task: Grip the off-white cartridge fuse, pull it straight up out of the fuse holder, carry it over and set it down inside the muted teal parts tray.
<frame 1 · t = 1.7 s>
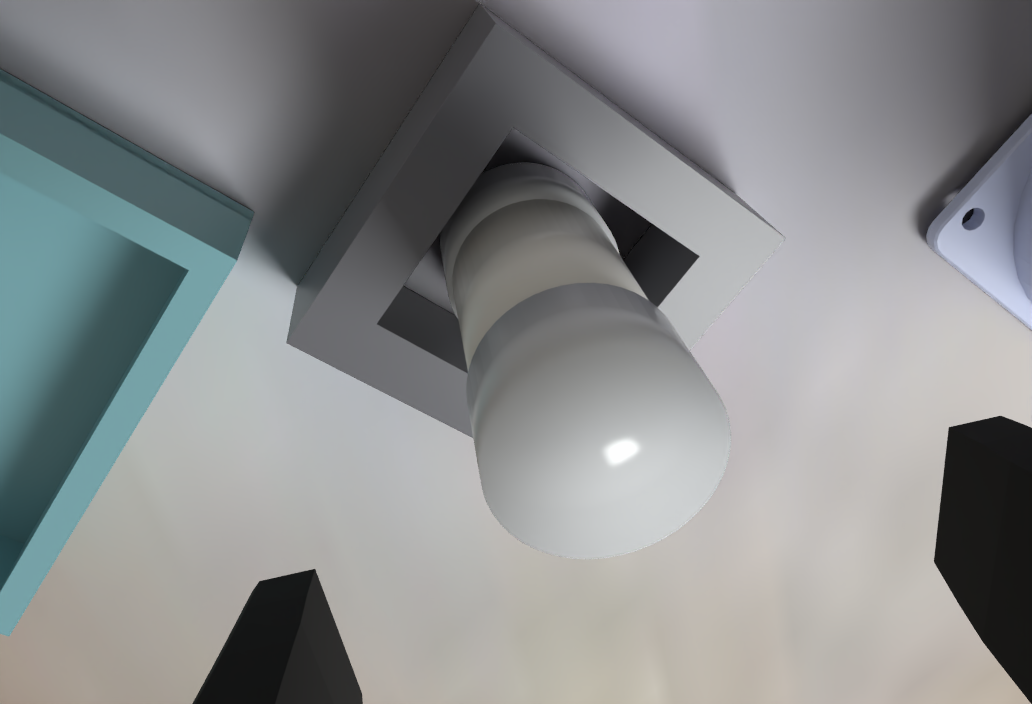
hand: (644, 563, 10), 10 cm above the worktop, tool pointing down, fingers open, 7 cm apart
fuse holder: (520, 241, 18), on the worktop
fuse: (553, 325, 15), in the fuse holder
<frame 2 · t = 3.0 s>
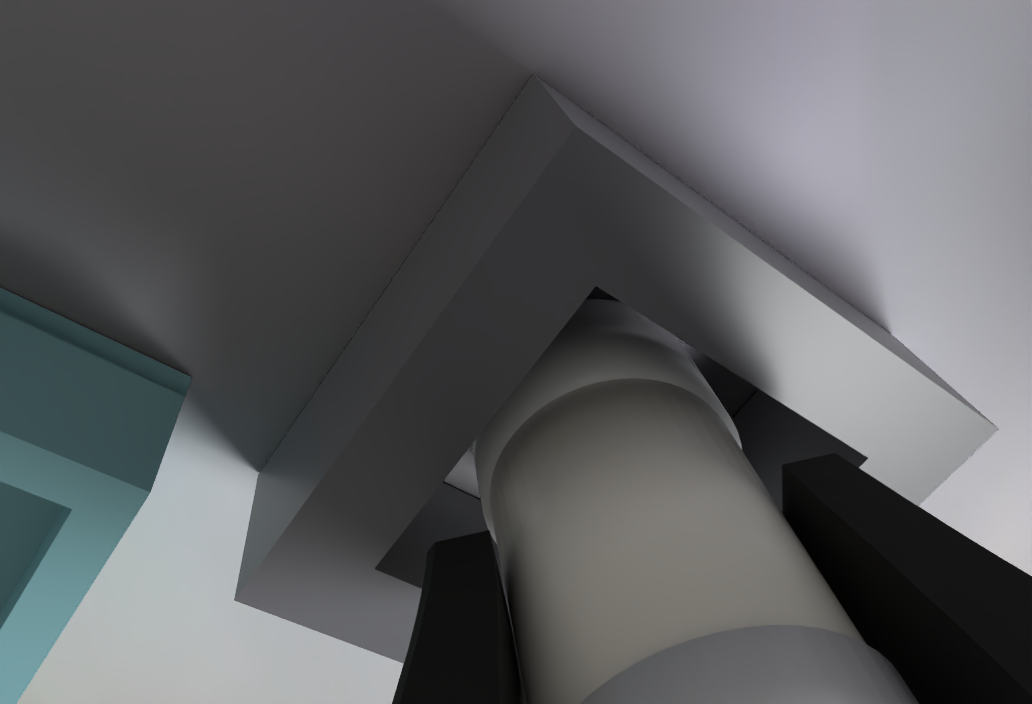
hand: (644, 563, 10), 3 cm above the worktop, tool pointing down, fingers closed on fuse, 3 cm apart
fuse holder: (581, 404, 13), on the worktop
fuse: (659, 600, 9), in the fuse holder, touching gripper
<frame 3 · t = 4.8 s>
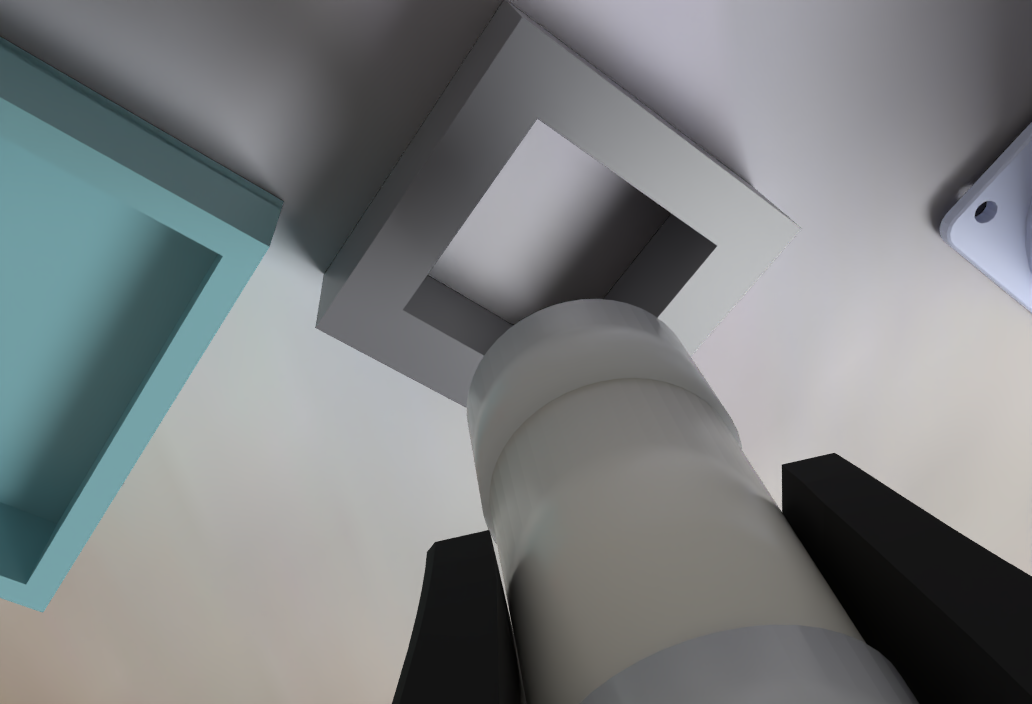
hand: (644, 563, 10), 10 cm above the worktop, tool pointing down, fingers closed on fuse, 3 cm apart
fuse holder: (541, 231, 19), on the worktop
fuse: (659, 600, 9), point 11 cm above the worktop, touching gripper
when the fingers open (5 cm above the worktop, at t = 6.9 s): fuse drops 1 cm, resting on parts tray.
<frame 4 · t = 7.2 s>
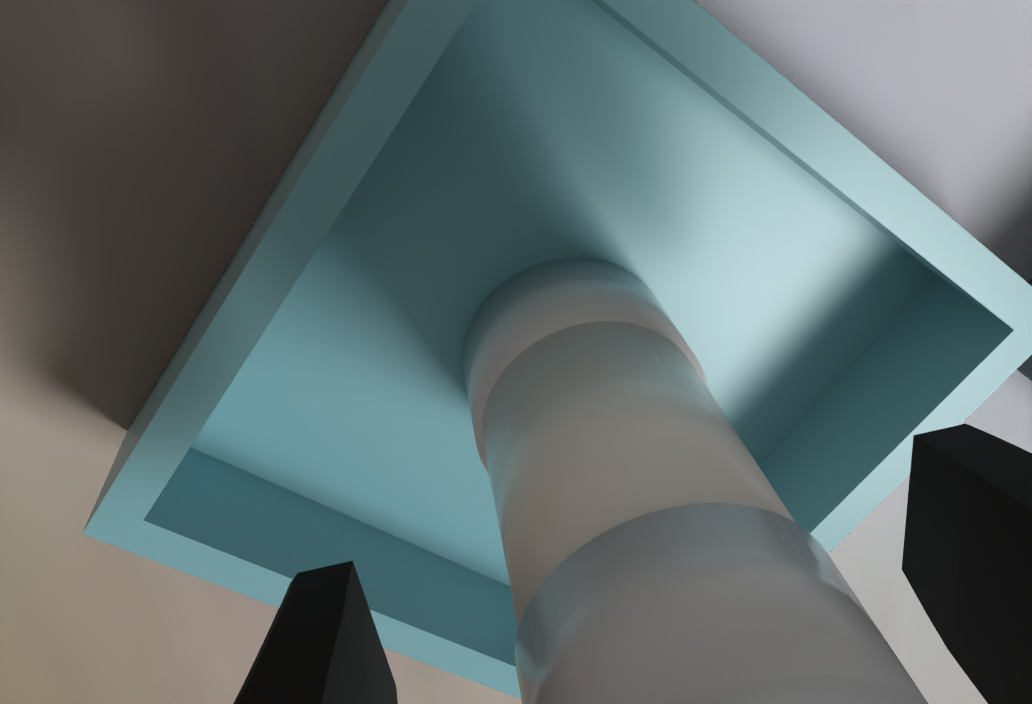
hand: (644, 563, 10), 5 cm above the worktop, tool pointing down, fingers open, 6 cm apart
parts tray: (556, 340, 14), on the worktop
fuse: (629, 511, 11), in the parts tray
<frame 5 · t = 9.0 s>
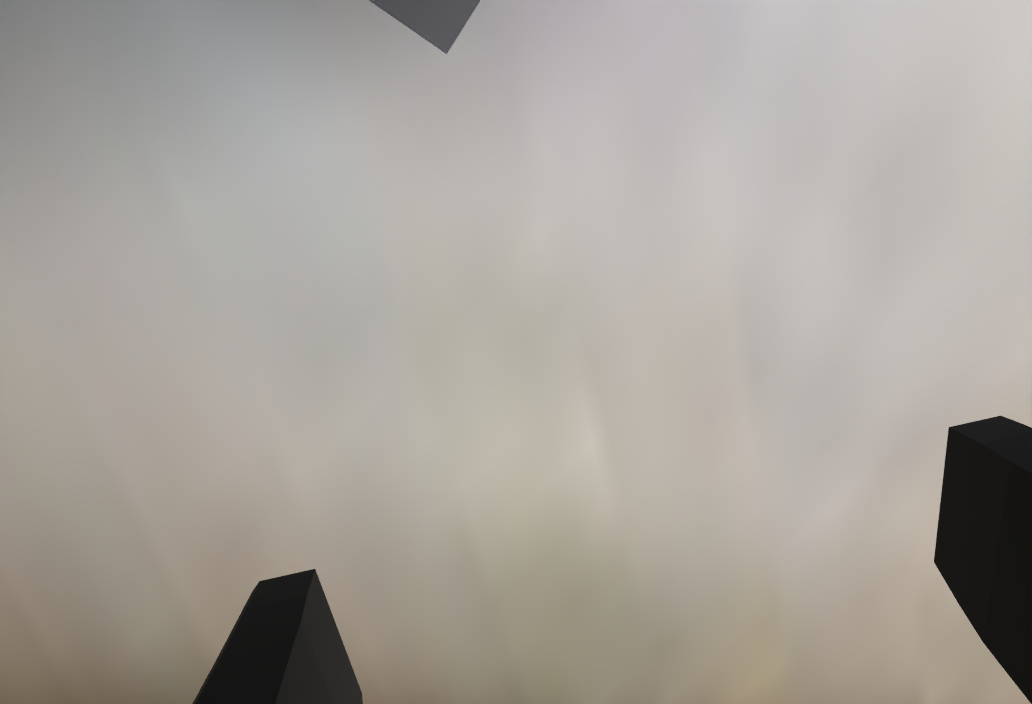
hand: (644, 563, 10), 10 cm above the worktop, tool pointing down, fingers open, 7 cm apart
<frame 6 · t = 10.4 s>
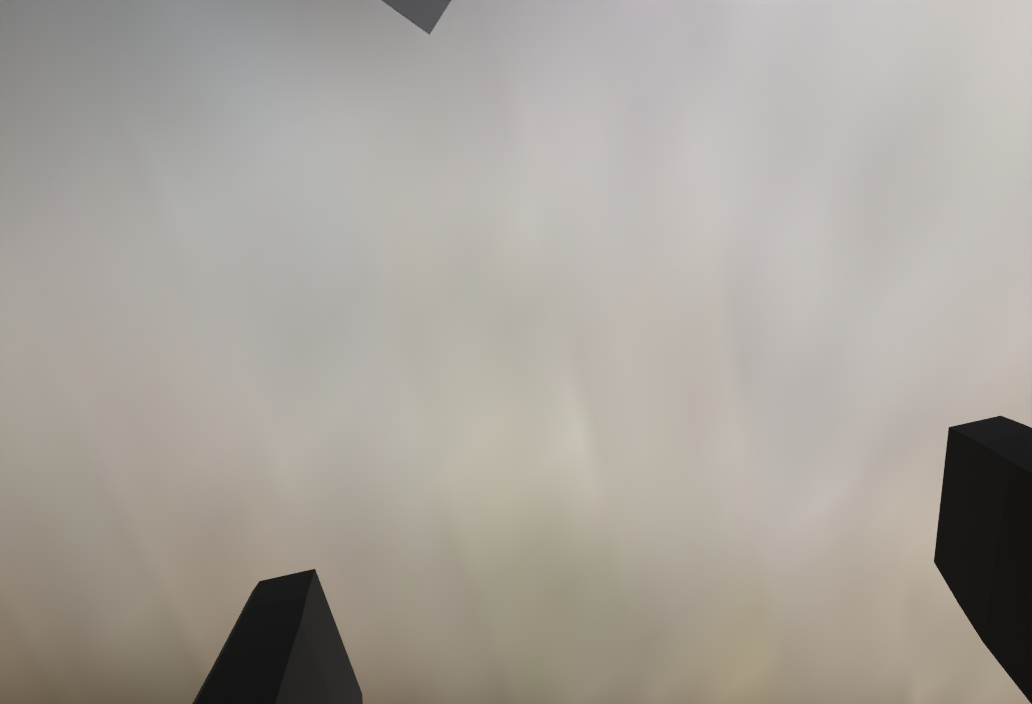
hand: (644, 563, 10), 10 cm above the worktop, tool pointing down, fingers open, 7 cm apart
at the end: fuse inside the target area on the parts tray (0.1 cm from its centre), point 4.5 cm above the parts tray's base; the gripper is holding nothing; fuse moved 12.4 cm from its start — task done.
